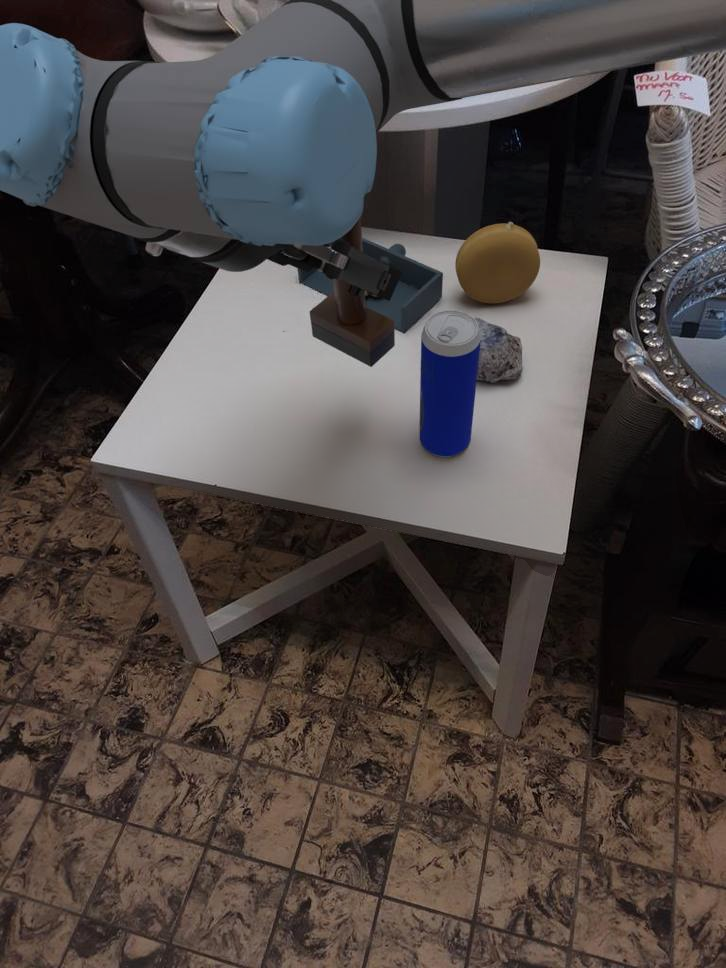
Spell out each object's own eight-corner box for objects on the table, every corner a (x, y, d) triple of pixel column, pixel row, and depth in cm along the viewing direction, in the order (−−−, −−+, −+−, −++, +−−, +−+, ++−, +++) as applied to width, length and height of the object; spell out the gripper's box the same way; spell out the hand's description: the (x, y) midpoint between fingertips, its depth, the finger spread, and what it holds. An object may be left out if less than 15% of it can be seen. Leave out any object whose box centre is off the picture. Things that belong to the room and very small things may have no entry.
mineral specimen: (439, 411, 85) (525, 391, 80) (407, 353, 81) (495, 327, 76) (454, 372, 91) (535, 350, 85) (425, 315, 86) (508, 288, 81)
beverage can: (434, 414, 80) (439, 300, 68) (479, 433, 79) (492, 319, 67) (410, 448, 78) (410, 335, 66) (455, 467, 76) (465, 355, 64)
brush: (395, 345, 71) (392, 209, 59) (371, 367, 69) (364, 232, 58) (336, 316, 73) (323, 181, 62) (312, 336, 72) (294, 201, 61)
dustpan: (404, 333, 88) (404, 307, 85) (299, 282, 94) (295, 256, 92) (456, 284, 93) (457, 259, 90) (352, 239, 99) (350, 213, 96)
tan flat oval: (530, 284, 92) (542, 210, 84) (536, 305, 90) (549, 231, 82) (452, 291, 92) (456, 218, 84) (456, 311, 90) (461, 238, 82)
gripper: (107, 216, 53) (296, 285, 73) (276, 302, 46) (431, 352, 67) (145, 106, 51) (327, 209, 72) (326, 180, 44) (469, 270, 65)
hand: (377, 278), depth 69 cm, fingers closed on brush, 3 cm apart
